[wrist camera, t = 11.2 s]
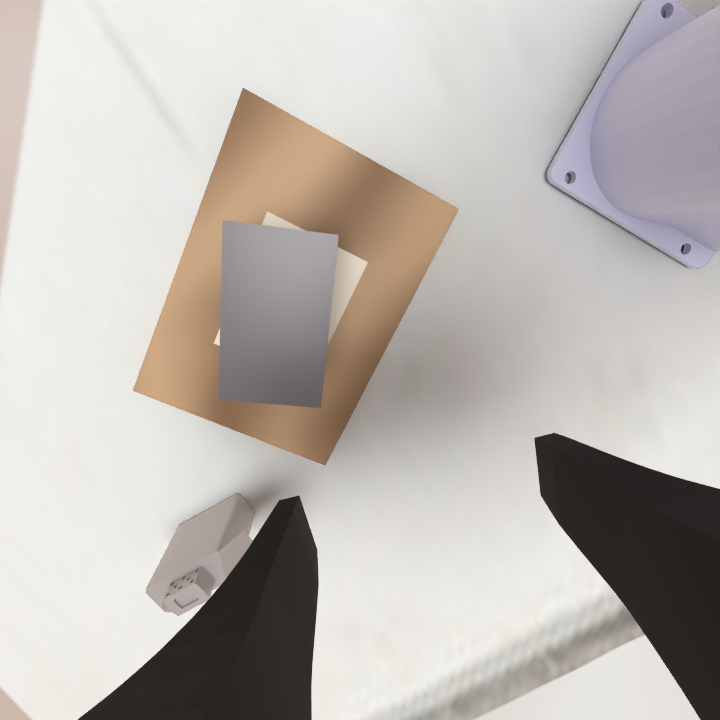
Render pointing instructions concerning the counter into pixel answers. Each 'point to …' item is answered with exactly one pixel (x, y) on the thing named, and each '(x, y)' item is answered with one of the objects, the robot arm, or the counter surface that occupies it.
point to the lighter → (202, 555)
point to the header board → (351, 281)
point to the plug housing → (275, 313)
